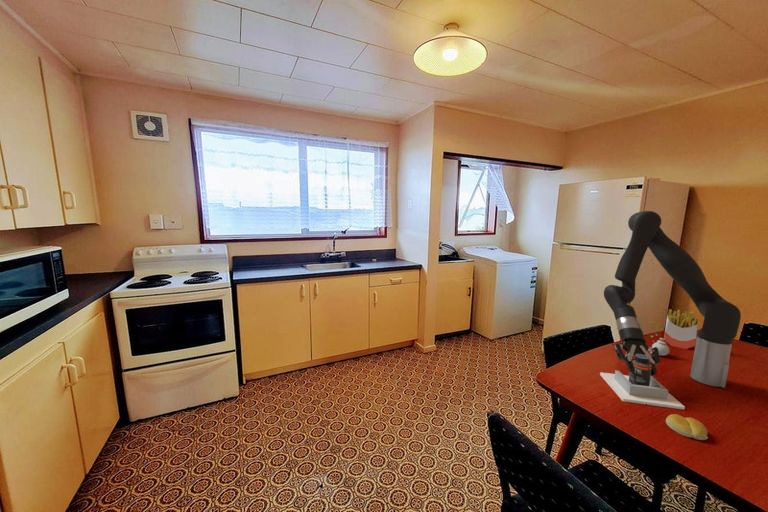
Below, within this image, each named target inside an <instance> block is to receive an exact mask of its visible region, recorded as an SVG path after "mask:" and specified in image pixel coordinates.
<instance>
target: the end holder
mask: <svg viewBox="0 0 768 512" xmlns="http://www.w3.org/2000/svg"><path fill="white" fill-rule="evenodd" d="M599 375H600V376H601V378H602V379H603V380H604V381H605V382H606V383H607V385H608V386H609V387H610V388H611V389H612V390H613V391H614V393H615V394H616V395H617V397H619V399H620V400H621V401H622V402H625V403H632V404H638V405H639V404H641V405H646V404H647V406H655V407H662V408H668V409H677V410H684V411H685V408H686V406H685V405H683V404H682V403H681V402H680V401H678V399H676V398H675V397H674V396H673V395H672V393H671V394H670V393H669V389H667V388H666V387H665V386H664V385H663V384H662V383H660V382H659V381H658V380H657V379H656V378H655V377H654V376H652V375H651V377H650V385H649V386H642V385H634V384H631V383H630V382H629V375H626V374H623V373H621V371H620V370H616V369H615V370H614V373H609V372H602V371H601V372H600V373H599Z"/></svg>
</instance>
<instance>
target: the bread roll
mask: <svg viewBox="0 0 768 512" xmlns="http://www.w3.org/2000/svg"><path fill="white" fill-rule="evenodd" d="M665 424H666V425H667V426H668V427H669V428H670V429H672V430H673V431H674V432H675V433H677V434H678V435H679V434H680V435H681V436H684V437H687V438H689V439H690V438H693V439H694V440H697V441H698V440H699V441H706V440H707V439H709V436H708V429H707V428H706V426H705V425H704V424H703V422H700V421H699V420H697V419H695V418H693V417H684V416H682V415H680V414H677V413H672V414H669V415H668V416H667V417H666V419H665Z"/></svg>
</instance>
